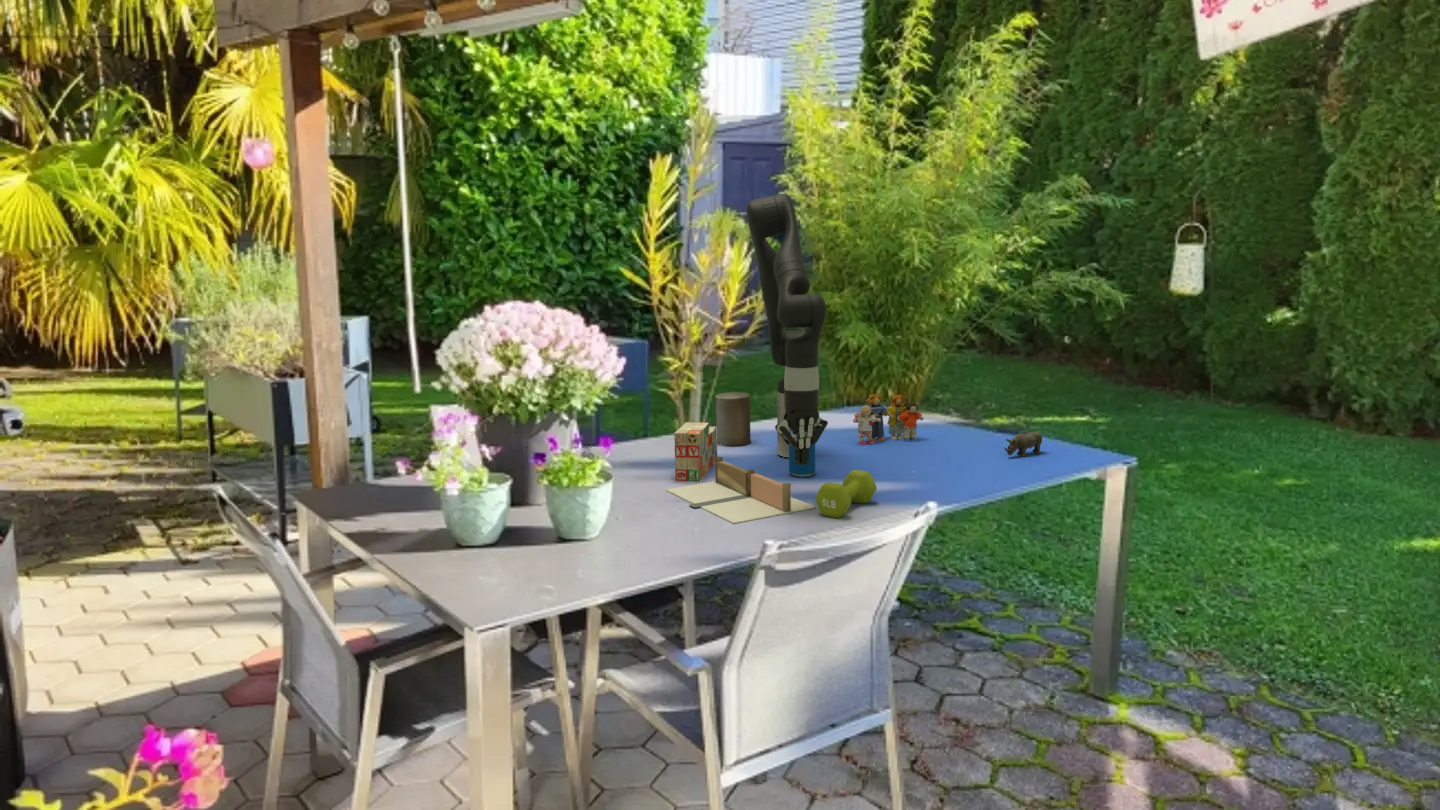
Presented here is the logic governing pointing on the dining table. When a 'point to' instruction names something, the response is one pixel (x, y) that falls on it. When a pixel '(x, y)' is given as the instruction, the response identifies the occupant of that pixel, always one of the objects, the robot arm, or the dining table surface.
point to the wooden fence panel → (733, 476)
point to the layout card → (732, 502)
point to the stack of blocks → (694, 451)
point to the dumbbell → (845, 493)
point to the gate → (771, 492)
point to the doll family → (898, 420)
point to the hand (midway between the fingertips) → (801, 464)
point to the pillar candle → (733, 418)
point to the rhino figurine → (1024, 443)
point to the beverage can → (802, 469)
